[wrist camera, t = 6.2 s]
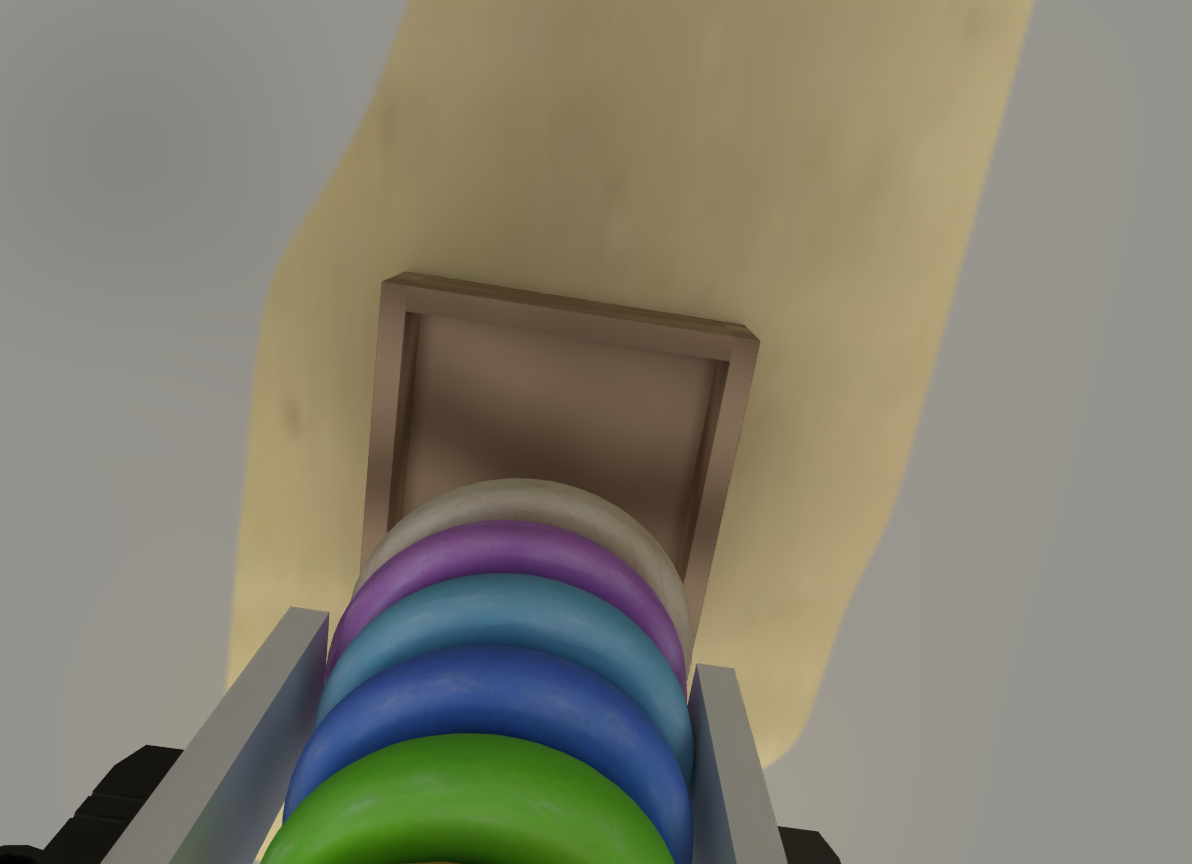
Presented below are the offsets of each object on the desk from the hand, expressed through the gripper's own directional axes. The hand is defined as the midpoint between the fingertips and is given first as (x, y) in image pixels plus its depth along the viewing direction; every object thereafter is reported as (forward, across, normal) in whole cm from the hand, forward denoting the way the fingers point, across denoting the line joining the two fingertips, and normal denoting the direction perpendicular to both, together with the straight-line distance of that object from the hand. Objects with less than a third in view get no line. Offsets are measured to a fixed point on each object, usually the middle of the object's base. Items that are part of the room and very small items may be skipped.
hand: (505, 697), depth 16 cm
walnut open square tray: (+14, 0, 0) cm, 14 cm away
